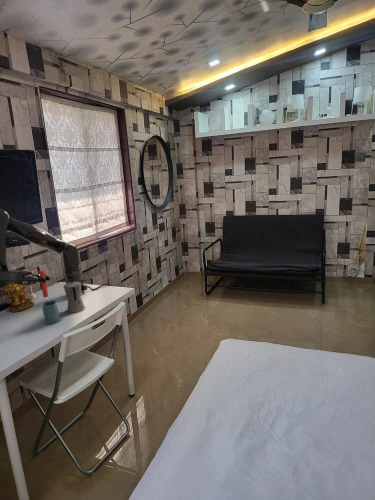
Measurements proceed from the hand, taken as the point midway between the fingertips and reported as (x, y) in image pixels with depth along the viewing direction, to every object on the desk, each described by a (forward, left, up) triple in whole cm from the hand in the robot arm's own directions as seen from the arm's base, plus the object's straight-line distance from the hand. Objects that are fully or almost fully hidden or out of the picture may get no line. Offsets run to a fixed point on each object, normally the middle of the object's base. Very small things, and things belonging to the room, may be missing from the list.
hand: (47, 279), depth 167 cm
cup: (0, -1, -23) cm, 23 cm away
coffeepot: (-15, -1, -23) cm, 28 cm away
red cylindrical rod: (+1, -3, -9) cm, 10 cm away
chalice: (-15, -44, -23) cm, 52 cm away
